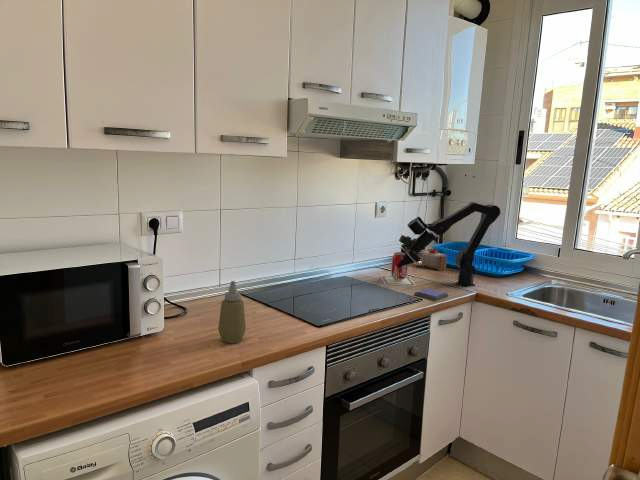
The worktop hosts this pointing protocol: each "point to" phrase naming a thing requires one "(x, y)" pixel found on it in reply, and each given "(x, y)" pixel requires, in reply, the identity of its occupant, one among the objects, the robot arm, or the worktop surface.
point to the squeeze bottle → (232, 316)
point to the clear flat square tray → (397, 281)
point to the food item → (434, 260)
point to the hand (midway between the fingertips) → (396, 264)
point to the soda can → (398, 272)
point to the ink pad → (431, 294)
